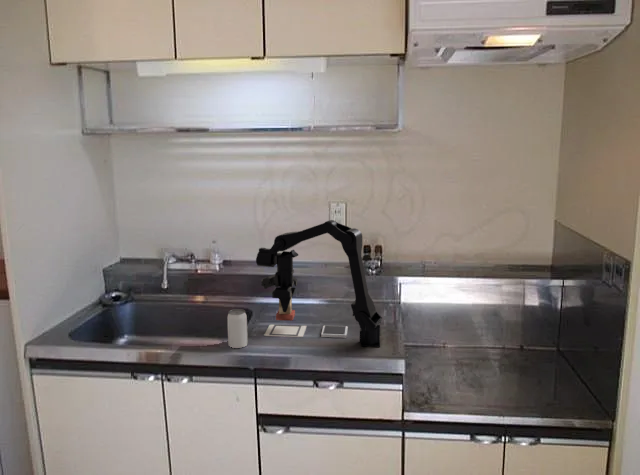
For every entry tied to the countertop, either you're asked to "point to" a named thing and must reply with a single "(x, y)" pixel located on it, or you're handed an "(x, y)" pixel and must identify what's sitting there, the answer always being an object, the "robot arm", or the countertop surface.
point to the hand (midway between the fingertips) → (285, 310)
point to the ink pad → (334, 331)
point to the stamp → (285, 315)
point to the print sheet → (285, 330)
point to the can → (237, 328)
